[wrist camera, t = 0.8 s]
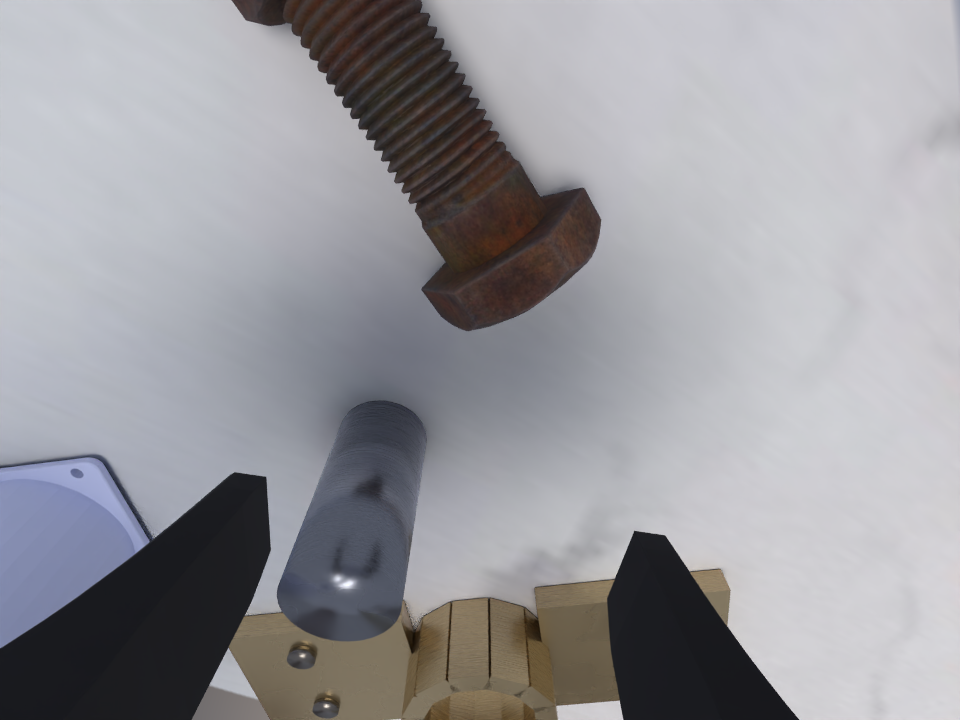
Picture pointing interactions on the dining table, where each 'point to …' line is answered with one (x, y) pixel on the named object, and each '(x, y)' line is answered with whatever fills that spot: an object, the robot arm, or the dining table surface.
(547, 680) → the hinge
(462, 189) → the bolt
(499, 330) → the dining table surface
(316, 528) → the hinge pin
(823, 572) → the dining table surface
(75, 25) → the dining table surface
